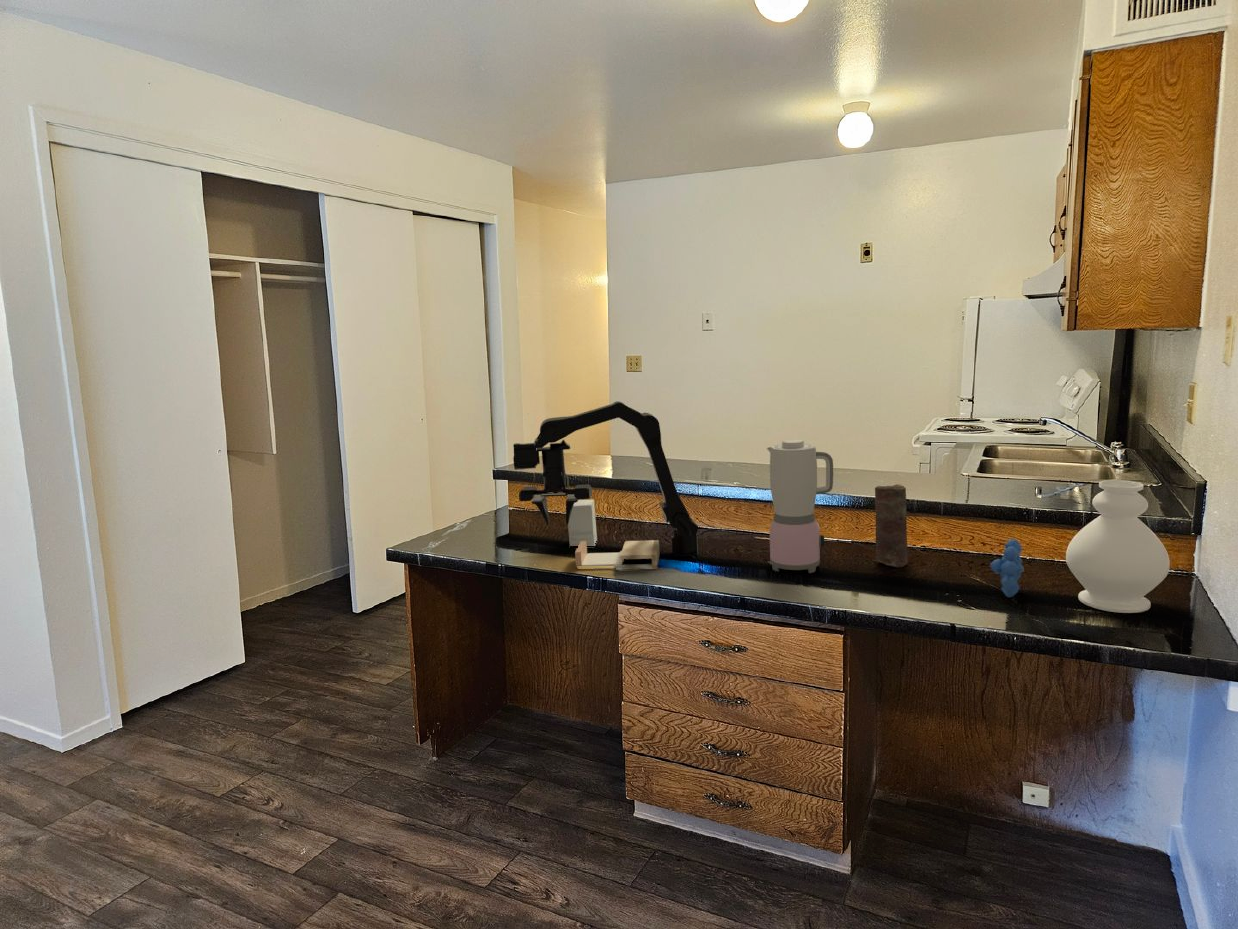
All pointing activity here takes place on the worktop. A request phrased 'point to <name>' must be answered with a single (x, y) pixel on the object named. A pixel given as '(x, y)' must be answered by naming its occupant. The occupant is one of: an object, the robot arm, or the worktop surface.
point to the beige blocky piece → (596, 557)
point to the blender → (796, 505)
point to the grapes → (1009, 567)
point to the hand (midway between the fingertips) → (558, 524)
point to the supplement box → (582, 523)
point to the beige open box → (640, 553)
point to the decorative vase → (1118, 552)
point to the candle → (891, 525)
